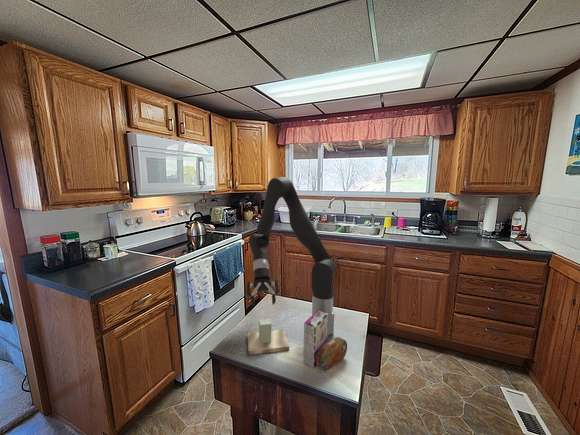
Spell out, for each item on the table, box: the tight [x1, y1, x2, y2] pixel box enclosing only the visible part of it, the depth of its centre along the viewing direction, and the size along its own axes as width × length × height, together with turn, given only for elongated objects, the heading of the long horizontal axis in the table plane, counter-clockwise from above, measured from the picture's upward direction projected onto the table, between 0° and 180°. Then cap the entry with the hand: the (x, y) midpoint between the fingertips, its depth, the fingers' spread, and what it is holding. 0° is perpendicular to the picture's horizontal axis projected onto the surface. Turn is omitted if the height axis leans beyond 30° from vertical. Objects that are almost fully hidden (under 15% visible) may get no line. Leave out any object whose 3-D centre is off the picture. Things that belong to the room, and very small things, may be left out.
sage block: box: [258, 317, 272, 344], centre depth 102 cm, size 4×4×8 cm
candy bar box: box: [303, 310, 329, 369], centre depth 93 cm, size 11×5×16 cm, turn 147°
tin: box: [316, 337, 348, 372], centre depth 91 cm, size 15×3×8 cm, turn 130°
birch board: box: [247, 329, 290, 356], centre depth 102 cm, size 16×12×2 cm
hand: (263, 304), depth 107 cm, fingers open, 8 cm apart
